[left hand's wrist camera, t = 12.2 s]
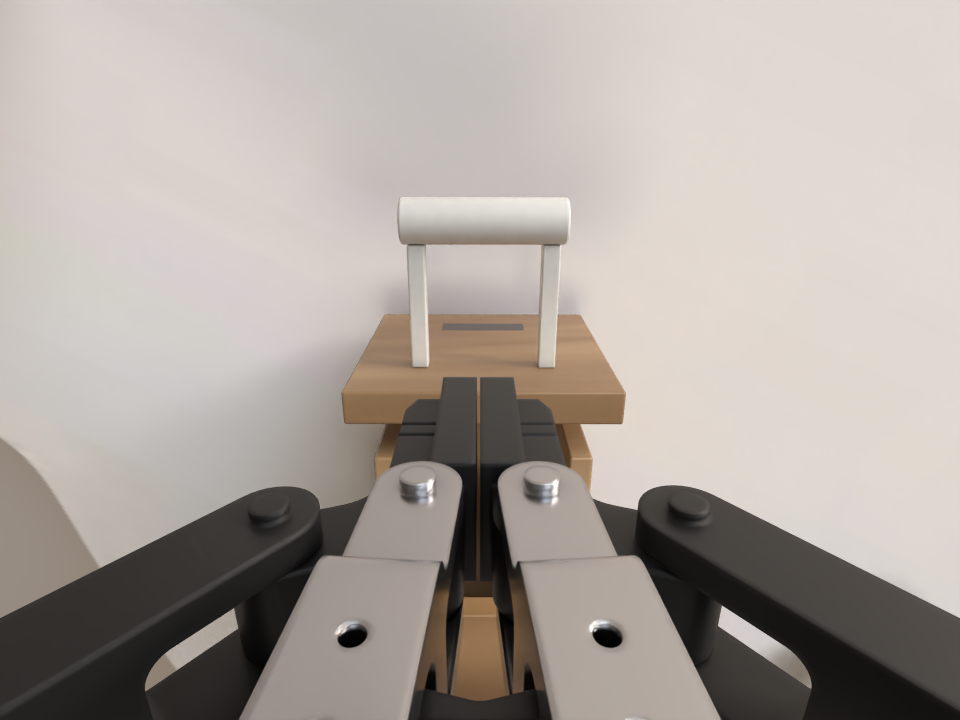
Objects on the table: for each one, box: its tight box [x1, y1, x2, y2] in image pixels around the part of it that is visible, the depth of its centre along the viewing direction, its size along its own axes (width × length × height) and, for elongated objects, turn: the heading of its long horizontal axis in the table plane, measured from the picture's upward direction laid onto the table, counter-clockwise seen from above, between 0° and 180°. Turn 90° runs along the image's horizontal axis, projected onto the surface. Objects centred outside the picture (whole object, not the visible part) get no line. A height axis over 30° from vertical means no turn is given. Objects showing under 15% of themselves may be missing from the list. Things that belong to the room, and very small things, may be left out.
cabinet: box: [454, 597, 506, 701], centre depth 29 cm, size 18×11×11 cm, turn 0°
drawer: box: [342, 197, 626, 597], centre depth 25 cm, size 23×9×9 cm, turn 0°
